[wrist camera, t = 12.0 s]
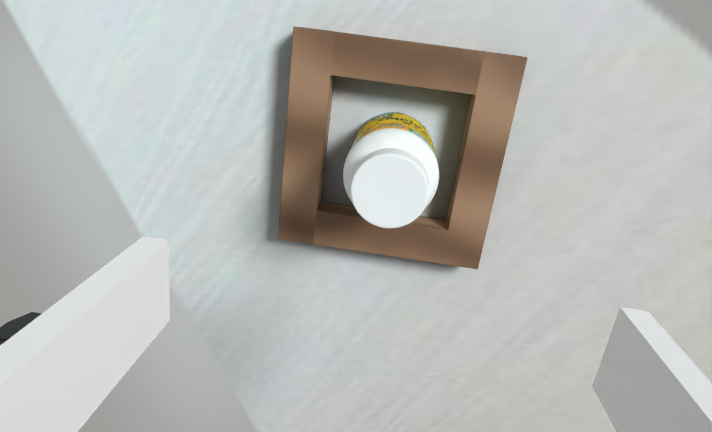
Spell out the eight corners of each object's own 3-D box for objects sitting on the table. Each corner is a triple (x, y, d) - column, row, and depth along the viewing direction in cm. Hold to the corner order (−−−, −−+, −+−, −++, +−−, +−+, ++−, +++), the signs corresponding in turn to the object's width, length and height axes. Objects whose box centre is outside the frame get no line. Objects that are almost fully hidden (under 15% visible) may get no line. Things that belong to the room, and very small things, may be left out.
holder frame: (473, 257, 36) (477, 269, 34) (284, 228, 36) (278, 238, 35) (519, 56, 31) (527, 57, 29) (300, 27, 32) (293, 26, 30)
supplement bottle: (342, 168, 35) (319, 215, 26) (373, 97, 33) (360, 120, 24) (412, 199, 35) (414, 256, 26) (447, 130, 33) (461, 166, 24)
